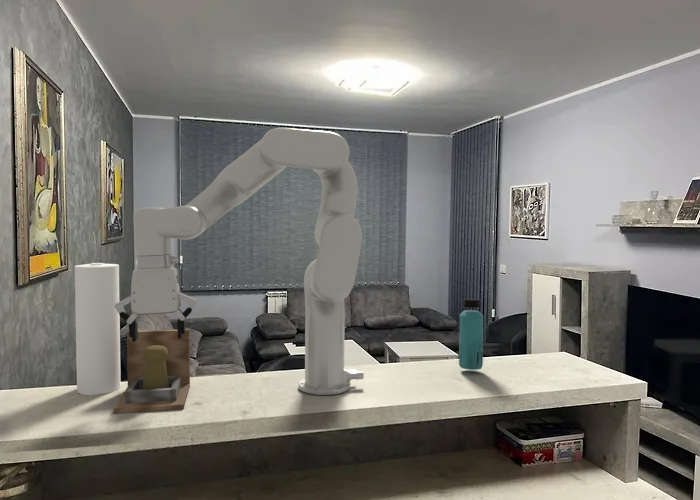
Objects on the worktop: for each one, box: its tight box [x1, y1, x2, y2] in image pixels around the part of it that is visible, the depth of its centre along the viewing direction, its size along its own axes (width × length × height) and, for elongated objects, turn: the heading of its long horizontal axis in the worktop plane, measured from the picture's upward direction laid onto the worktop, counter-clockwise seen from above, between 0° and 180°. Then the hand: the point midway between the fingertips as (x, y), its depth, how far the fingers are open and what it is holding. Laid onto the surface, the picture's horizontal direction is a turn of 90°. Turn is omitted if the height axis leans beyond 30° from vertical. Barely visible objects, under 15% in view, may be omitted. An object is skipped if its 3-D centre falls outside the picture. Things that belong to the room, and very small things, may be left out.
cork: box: [143, 345, 169, 389], centre depth 119 cm, size 6×6×11 cm
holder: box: [112, 328, 191, 414], centre depth 119 cm, size 14×16×14 cm
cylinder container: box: [74, 262, 122, 396], centre depth 125 cm, size 9×9×30 cm
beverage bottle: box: [458, 298, 484, 371], centre depth 142 cm, size 6×7×20 cm
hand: (157, 338), depth 119 cm, fingers open, 9 cm apart
